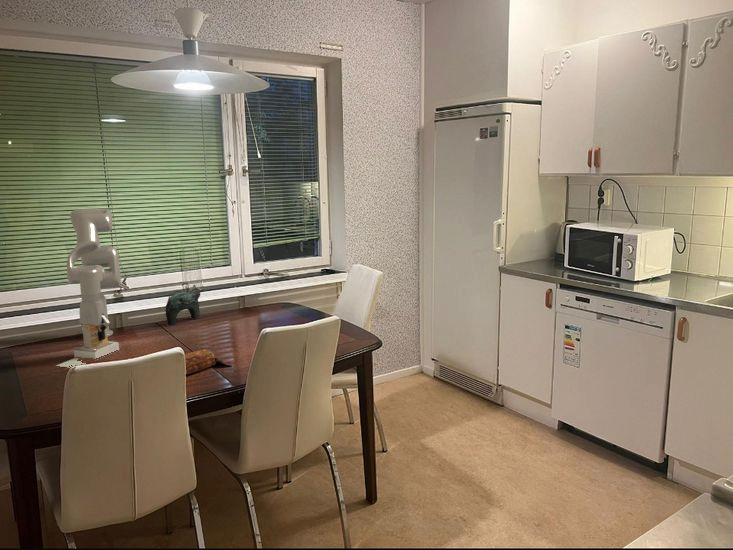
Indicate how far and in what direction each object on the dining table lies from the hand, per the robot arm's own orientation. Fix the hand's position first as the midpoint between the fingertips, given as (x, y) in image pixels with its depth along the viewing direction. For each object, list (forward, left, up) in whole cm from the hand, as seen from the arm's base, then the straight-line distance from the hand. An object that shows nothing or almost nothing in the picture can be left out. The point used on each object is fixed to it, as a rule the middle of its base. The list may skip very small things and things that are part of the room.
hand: (95, 338), depth 237 cm
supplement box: (0, 0, -6) cm, 6 cm away
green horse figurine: (+5, +56, -7) cm, 56 cm away
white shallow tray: (0, 0, -7) cm, 7 cm away
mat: (+1, -13, -7) cm, 15 cm away
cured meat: (+53, -5, -7) cm, 53 cm away
